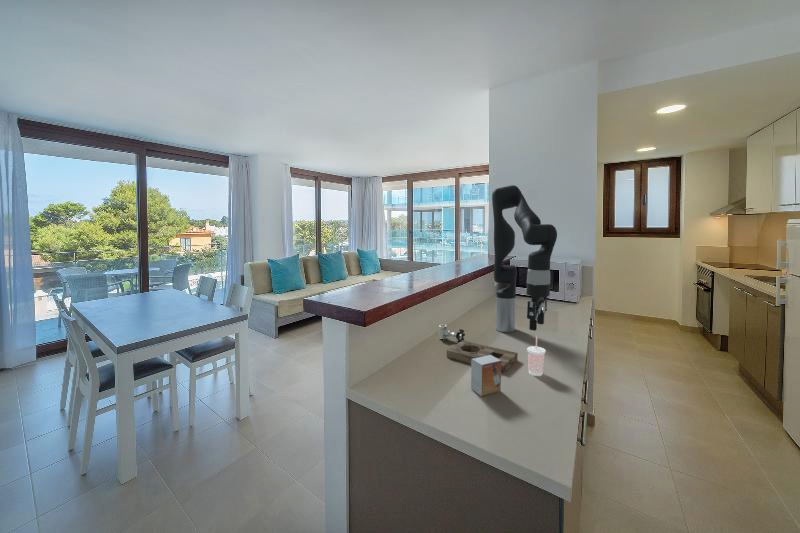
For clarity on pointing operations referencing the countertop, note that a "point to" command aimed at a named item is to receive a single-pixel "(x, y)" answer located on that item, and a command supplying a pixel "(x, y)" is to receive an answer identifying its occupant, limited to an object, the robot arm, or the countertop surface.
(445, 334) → the valve
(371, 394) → the countertop surface
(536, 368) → the beverage cup
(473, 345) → the socket plate
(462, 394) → the countertop surface
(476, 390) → the small box
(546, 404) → the countertop surface
